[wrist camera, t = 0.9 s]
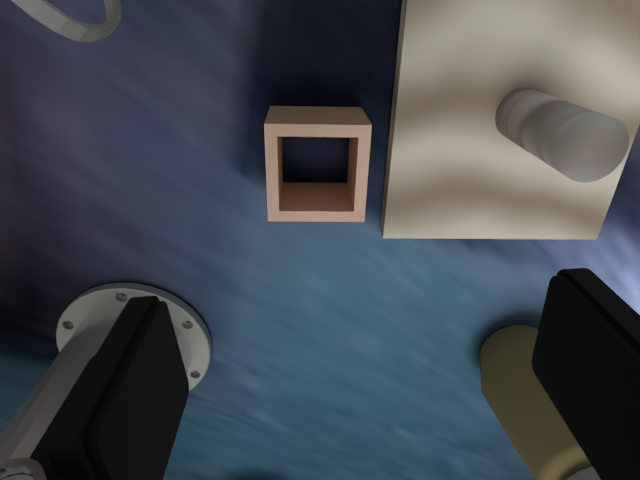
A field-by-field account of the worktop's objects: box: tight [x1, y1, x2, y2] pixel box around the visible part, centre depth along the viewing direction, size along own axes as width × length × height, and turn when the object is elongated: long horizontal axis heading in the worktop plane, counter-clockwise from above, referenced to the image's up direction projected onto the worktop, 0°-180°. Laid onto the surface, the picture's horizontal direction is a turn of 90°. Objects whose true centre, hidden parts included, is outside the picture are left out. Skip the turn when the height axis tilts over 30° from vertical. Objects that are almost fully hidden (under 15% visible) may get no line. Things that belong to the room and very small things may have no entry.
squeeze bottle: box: [480, 324, 601, 480], centre depth 31 cm, size 8×8×18 cm
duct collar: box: [264, 106, 372, 222], centre depth 28 cm, size 6×6×5 cm
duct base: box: [380, 0, 640, 239], centre depth 25 cm, size 18×16×10 cm
